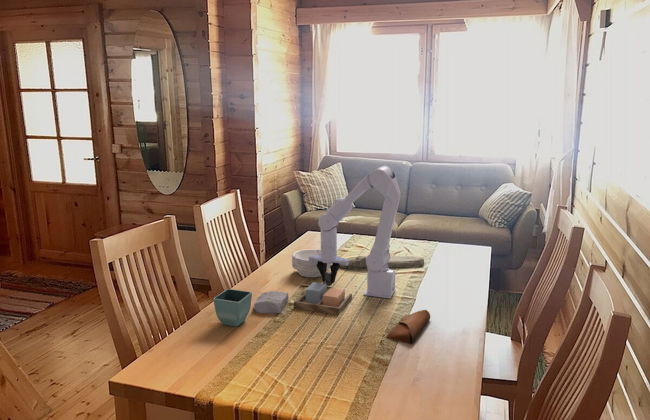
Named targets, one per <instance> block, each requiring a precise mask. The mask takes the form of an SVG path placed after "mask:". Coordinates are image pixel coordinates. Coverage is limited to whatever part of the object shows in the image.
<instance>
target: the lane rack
mask: <svg viewBox="0 0 650 420" xmlns="http://www.w3.org/2000/svg"><path fill="white" fill-rule="evenodd" d="M305 299H306V291H305V292H304V293H303V294H302V295H301V296H299V298H298V299H296V300H294V301H293V309H295V308H297V309H296V310H302V309H303V310H304V311H311V312H318V313H323V314H331V315H337V316H339V315H340V314H341V313H342V312H343V310H344V309H345V308H346V307H347V305H349V303H350V302H351V301H352V299H353V293H349V294H348V295H347V296H345V300H344V301H343V302H342V303H341V304H340V306H339V307H333V306H326V305H323V298H322V299H321V300H320V301H319V302H318V303H317V304H316V303H309V302H306V300H305ZM304 300H305V301H304ZM303 301H304V302H303ZM303 310H302V311H303Z"/></svg>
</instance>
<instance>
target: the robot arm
mask: <svg viewBox="0 0 650 420" xmlns="http://www.w3.org/2000/svg"><path fill="white" fill-rule="evenodd" d="M371 189H375V190H377V191H378V192H380V194H381V195H382V196H383V198H384V200H383V205H382V209H381V213H380V217H379V221H378V225H377V230H376V234H375V238H374V242H373V243H372V247H371V248H370V249H371V250H370V253H369V254H368V255H366V256H367V258H366V265H367V267H368V269H367V270H366V271H367V281H366V282H367V283H366V284H367V285H366V289H365V292H363V296H367V297H368V296H370V297H377V298H384V299H392V297H393V295H394V293H395V291H396V271H395V269H390V268H389V267H388V265H387V262H388V261H389V259H390V257H391V254H390V248H391V247H390V246H391V245H390V241H391V237H392V233H393V229H394V225H395V221H396V217H397V213H398V208H399V204H400V201H401V196H402V192H401V189H400V187H399V183H398V178H397V174H396V172H395V171H394V170H393V169H392V167H391V166H388V165H381V166H379V167H378V168H375V169H373V170H372V171H371V172H370V173H368V174H367V175H366V176H364V177H363V178H362V179H361V180H360V181H359V182H358V183H357V184H356V185H355V186H354V187H353V189H351V191H350V192H349V193H348V194H347V195H346V196H345V197H344V196H342V197H341V196H340V197H339V198H338V197H337V198H335V200H334V204H333V205H331V206H330V207H329V208H328V207H327V209H326V210H325V213H323V214H321V215H320V216H319V218H318V221H317V225H318V227H319V228H320V250H321V255H310V256H309V262H312V261H314V262H318V263H317V268H318V270H319V272H320V274H321V276H320V277H321V280H322V284H323V283H324V282H325V272H328V270H327V263H331V266H330V269H329V270H330V272H331V284H332V285H334V284H335V282H336V277H337V274H338V272H339V270H340V267H341V266H340V265H345V266H348V265H349V259H347V258H345V257H341V256H340V257H339V256H338V255H337V254H338V253H337V249H338V245H337V244H338V243H337V242H338V241H337V240H338V232H337V229H338V228H337V227H338V226H339V223H340V221H342V220H343V219H344V217H346V216H348V214H349V213H350V212H351V211H352V210H353V203H355V202H356V201H357V200H358V199H359V198H360V197H361V196H362V195H363V194H364V193H365V192H367V190H371Z"/></svg>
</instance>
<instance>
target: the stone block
mask: <svg viewBox="0 0 650 420" xmlns="http://www.w3.org/2000/svg"><path fill="white" fill-rule="evenodd" d="M288 302H289V292H284V291H278V290H271V291H266V292H262V293H260V295H259V296H258V297H257V298H256V299H255V301H254V303H253V308H254V311H255V312H256V313H261V314H281V313H282V312H283V310H284V309H283V308H285V307H286V305H287V303H288Z"/></svg>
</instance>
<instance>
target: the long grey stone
mask: <svg viewBox="0 0 650 420" xmlns="http://www.w3.org/2000/svg"><path fill="white" fill-rule="evenodd" d="M367 256H368V255H361V256H360V255H359V256H357V257H354V256H353V257H349V258H346V259H349V265H348V266H345V265H340V267H342V268H343V269H351V270H352V269H353V270H365V271H367V270H368V267H367V265H366V258H367ZM387 265H388V268H392V269H394V268H414V267H421V266H424V265H425V259H424V258H423V257H420V256H419V257H418V256H412V255H410V256H390V259H389V261H388V262H387Z"/></svg>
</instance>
